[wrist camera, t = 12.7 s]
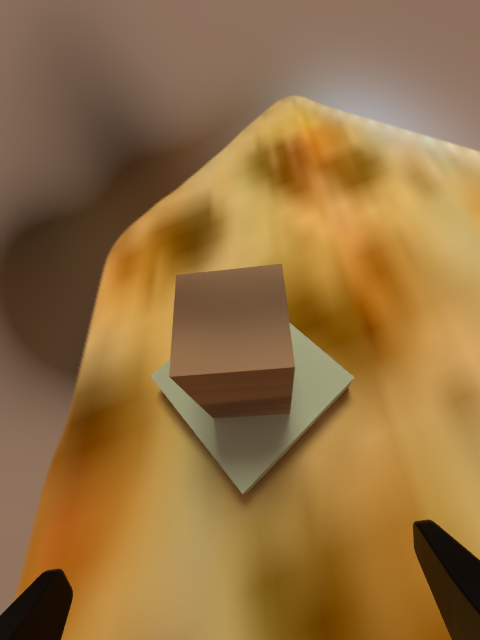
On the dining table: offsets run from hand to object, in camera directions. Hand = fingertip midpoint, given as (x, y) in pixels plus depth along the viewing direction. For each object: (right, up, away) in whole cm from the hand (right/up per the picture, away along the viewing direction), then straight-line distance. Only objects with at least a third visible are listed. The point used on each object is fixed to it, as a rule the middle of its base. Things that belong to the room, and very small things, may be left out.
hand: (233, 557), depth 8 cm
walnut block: (+1, +2, +13) cm, 14 cm away
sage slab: (+1, +1, +16) cm, 16 cm away
